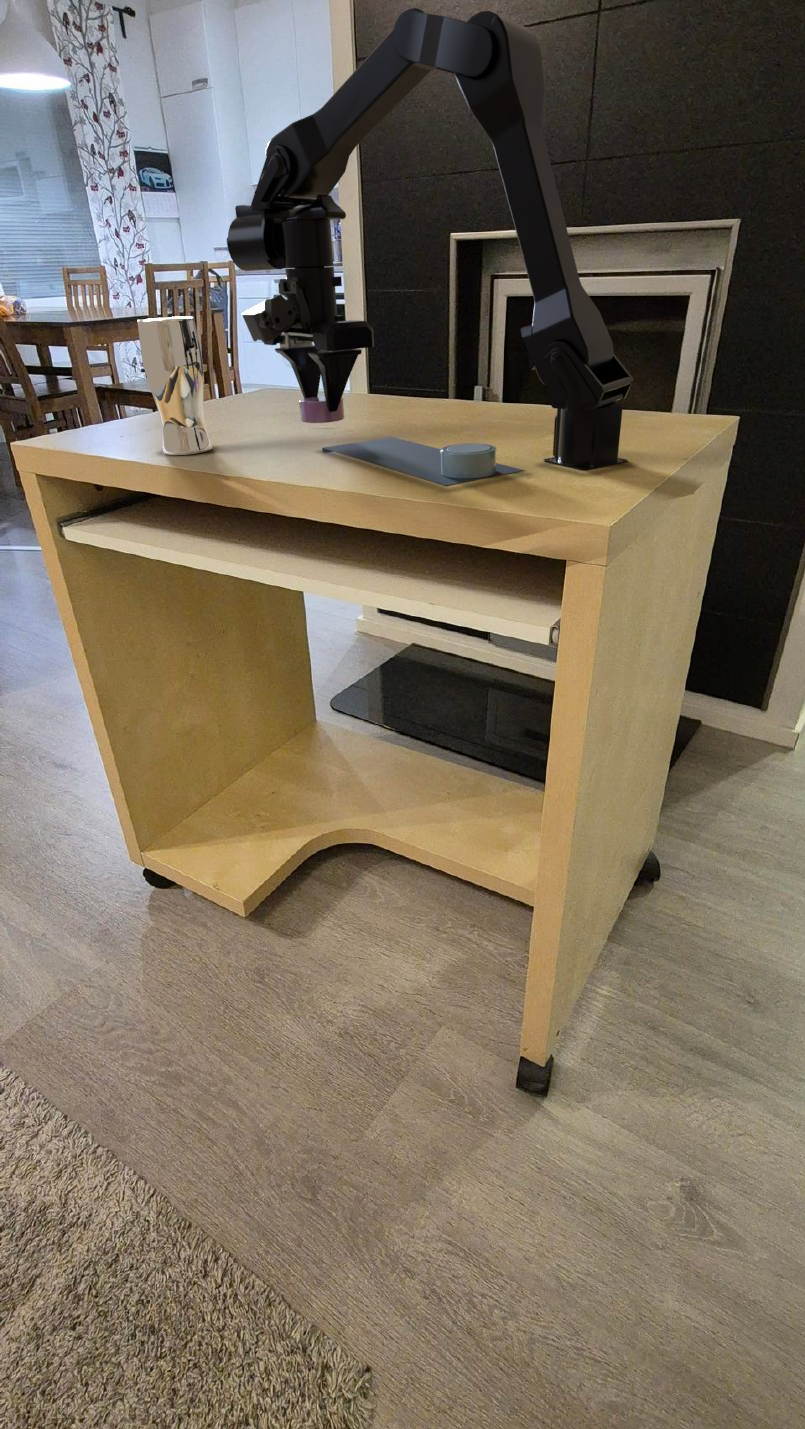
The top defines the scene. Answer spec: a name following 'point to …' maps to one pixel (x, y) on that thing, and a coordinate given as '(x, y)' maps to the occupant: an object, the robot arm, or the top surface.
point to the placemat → (407, 459)
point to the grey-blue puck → (468, 460)
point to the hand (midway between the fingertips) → (321, 409)
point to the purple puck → (319, 411)
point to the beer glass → (176, 382)
